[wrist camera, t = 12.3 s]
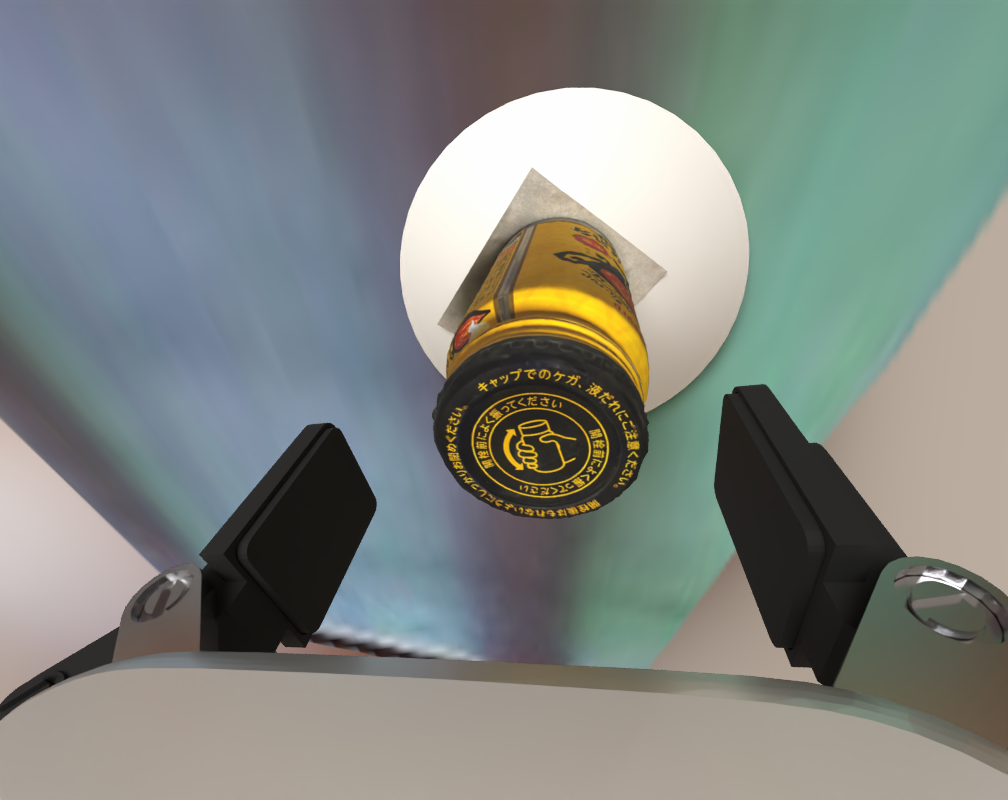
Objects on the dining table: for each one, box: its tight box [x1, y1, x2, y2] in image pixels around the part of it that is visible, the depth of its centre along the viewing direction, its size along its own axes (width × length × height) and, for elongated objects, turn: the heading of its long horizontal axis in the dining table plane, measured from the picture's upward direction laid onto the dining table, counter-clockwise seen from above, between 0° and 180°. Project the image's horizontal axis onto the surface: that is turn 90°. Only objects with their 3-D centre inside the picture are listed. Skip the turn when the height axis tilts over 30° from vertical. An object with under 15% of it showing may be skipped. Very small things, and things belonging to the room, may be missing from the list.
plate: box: [400, 88, 749, 413], centre depth 20 cm, size 16×16×1 cm
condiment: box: [432, 167, 667, 519], centre depth 15 cm, size 7×8×12 cm
